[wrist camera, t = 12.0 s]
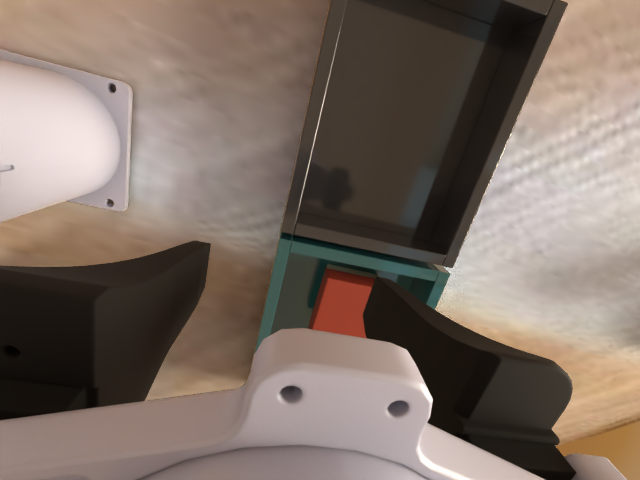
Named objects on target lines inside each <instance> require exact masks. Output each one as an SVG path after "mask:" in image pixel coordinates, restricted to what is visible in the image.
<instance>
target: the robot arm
mask: <svg viewBox="0 0 640 480" xmlns="http://www.w3.org/2000/svg"><path fill="white" fill-rule="evenodd" d="M112 84H114V85H115V86H116V92H114V93H113V92H112V91H111V88H110V87H111V85H112ZM132 98H133V92H132V88H131V87H130V85H129V84H128V83H126V82H123V81H119V80H115V79H112V78H108V77H104V76H100V75H96V74H93V73H89V72H85V71H81V70H77V69H74V68H70V67H66V66H62V65H58V64H55V63H51V62H47V61H43V60H40V59H36V58H32V57H28V56H24V55H21V54H17V53H13V52H9V51H5V50H2V49H0V222H3V221H7V220H10V219H13V218H16V217H19V216H22V215H25V214H28V213H31V212H34V211H37V210H40V209H43V208H46V207H49V206H52V205H55V204H58V203H61V202H64V201H68V202H73V203H78V204H83V205H87V206H92V207H97V208H102V209H107V210H112V211H117V212H122V211H124V210H126V209H127V208H128V203H129V177H130V151H131V124H132ZM109 199H110V200H112V201H113V203H114V205H111V204H110V203H109ZM210 245H211V244H210V243H205V242H200V241H191V242H188V243H185V244H182V245H179V246H176V247H173V248H170V249H167V250H164V251H161V252H157V253H154V254H151V255H147V256H144V257H140V258H135V259H131V260H125V261H120V262H114V263H106V264H97V265H88V266H74V267H18V266H0V480H627V479H626V478H625V477H624V476H623V475H622V474H621V473H620V472H619V471H618V470H617V469H616V468H615V466H614V465H613V464H612V463H611V462H610V461H609V460H608V459H607V458H606V457H601V456H593V455H584V454H577V453H576V454H569V455H567V456H565V457H564V456H563V455H562V454H561V453H560V451H559V450H558V449H557V448H556V446H555V445H558V444H559V442H560V441H559V438H558V437H557V436H556V434H555V433H554V432H553V431H552V430H551V429H552V427H553V426H554V424H555V423H556V421H557V420H558V418H559V417H560V416H561V414H562V413H563V411H564V410H565V408H566V407H567V405H568V403H569V401H570V399H571V395H572V389H573V388H572V381H571V379H570V377H569V376H568V374H567V373H566V372H565V371H564V370H563V369H562V368H561V367H560V366H558V365H557V364H556V363H555V362H554V361H552V360H549V359H546V358H543V357H540V356H537V355H533V354H530V353H527V352H524V351H521V350H518V349H515V348H512V347H509V346H507V345H504V344H501V343H499V342H496V341H494V340H491V339H489V338H487V337H484V336H482V335H480V334H478V333H476V332H473V331H471V330H469V329H467V328H465V327H463V326H461V325H459V324H458V323H456V322H454V321H452V320H450V319H449V318H447V317H445V316H444V315H442V314H440V313H439V312H437V311H436V310H434V309H433V308H431V307H430V306H428V305H427V304H425V303H424V302H422V301H421V300H419V299H418V298H417V297H415V296H414V295H413V294H411V293H410V292H408V291H407V290H406V289H404V288H403V287H401V286H400V285H398V284H397V283H395V282H394V281H392V280H390V279H386V278H381V277H375V280H374V283H373V286H372V289H371V292H370V295H369V298H368V301H367V303H366V306H365V309H364V312H363V322H364V329H365V334H366V338H361V337H355V336H349V335H343V334H337V333H331V332H325V331H319V330H313V329H307V328H294V329H281V330H279V331H277V332H276V333H274V334H272V335H270V336H268V337H266V338H265V339H263V341H262V342H261V344H260V346H259V347H258V349H257V351H256V352H255V354H254V357H253V362H252V366H251V371H250V375H249V377H248V380H247V382H246V383H245V384H244V385H243V386H242V387H240V388H237V389H230V390H222V391H215V392H207V393H200V394H193V395H185V396H178V397H170V398H163V399H155V400H148V401H145V399H146V397H147V395H148V392H149V390H150V388H151V386H152V384H153V382H154V379H155V377H156V375H157V373H158V371H159V369H160V367H161V365H162V363H163V361H164V359H165V356H166V355H167V353H168V351H169V349H170V348H171V346H172V344H173V343H174V341H175V340H176V338H177V336H178V335H179V333H180V332H181V330H182V328H183V327H184V325H185V324H186V322H187V321H188V319H189V317H190V316H191V314H192V312H193V311H194V309H195V308H196V306H197V304H198V302H199V299H200V297H201V295H202V292H203V290H204V288H205V282H206V275H207V267H208V260H209V253H210Z"/></svg>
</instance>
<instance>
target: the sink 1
mask: <svg viewBox="0 0 640 480" xmlns="http://www.w3.org/2000/svg"><path fill="white" fill-rule="evenodd" d="M281 226H282V223H281ZM327 264H331V265H335V266H340V267H345V268H349V269H354V270H358V271H363V272H368V273H372V274H377V275H378V276H379V277H381V278H386V279H390V280H392V281H394V282H395V283H397V284H398V285H400V286H401V287H403V288H404V289H406V290H407V291H408V292H410V293H411V294H413V295H414V296H415V297H417V298H418V299H419V300H421V301H422V302H424V303H425V304H427V305H428V306H430V307H431V308H433V309H434V310H435V308H436V306H437V303H438V301H439V299H440V296H441V294H442V292H443V289H444V287H445V285H446V283H447V280H448V278H449V276H450V273H449V272H448V271H447V270H446V269H445V268H444V267H443V266H442V265H436V264H431V263H426V262H422V261H417V260H412V259H407V258H403V257H398V256H393V255H388V254H384V253H379V252H374V251H370V250H365V249H360V248H355V247H351V246H346V245H341V244H336V243H332V242H327V241H322V240H317V239H313V238H308V237H303V236H298V235H294V233H293V234H289V233H284V232H281V228H280V233H279V237H278V242H277V247H276V251H275V256H274V261H273V265H272V270H271V274H270V279H269V284H268V288H267V293H266V298H265V302H264V307H263V312H262V316H261V321H260V325H259V330H258V335H257V339H256V344H255V349H254V353H253V357H254V354H255V352H256V351H257V349H258V347H259V346H260V344H261V342H262V341H263V339H265V338H266V337H268V336H270V335H272V334H274V333H276V332H277V331H279V330H281V329H294V328H307V329H309V326H308V325H309V322H310V319H311V315H312V312H313V309H314V306H315V302H316V299H317V296H318V292H319V289H320V286H321V282H322V279H323V276H324V272H325V269H326V267H327ZM252 362H253V358H252ZM251 366H252V363H251ZM250 371H251V367H250ZM249 375H250V372H249ZM248 377H249V376H248Z"/></svg>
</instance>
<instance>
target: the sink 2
mask: <svg viewBox="0 0 640 480" xmlns="http://www.w3.org/2000/svg"><path fill="white" fill-rule="evenodd" d="M567 5H568V3H566V2H564V1H561V0H330V1H329V6H328V10H327V15H326V20H325V24H324V29H323V33H322V38H321V43H320V47H319V52H318V57H317V61H316V66H315V71H314V75H313V80H312V84H311V89H310V94H309V98H308V103H307V108H306V112H305V117H304V122H303V126H302V131H301V135H300V140H299V145H298V149H297V154H296V159H295V163H294V168H293V173H292V177H291V182H290V186H289V191H288V196H287V200H286V205H285V210H284V214H283V220H282V226H281V232H284V233H289V234H293V233H294V235H298V236H303V237H308V238H313V239H317V240H322V241H327V242H332V243H336V244H341V245H346V246H351V247H355V248H360V249H365V250H370V251H374V252H379V253H384V254H388V255H393V256H398V257H403V258H407V259H412V260H417V261H422V262H426V263H431V264H436V265H442V266H445V267H450V268H453V266H454V264H455V262H456V259H457V257H458V255H459V252H460V250H461V248H462V245H463V243H464V241H465V239H466V236H467V234H468V232H469V229H470V227H471V225H472V223H473V220H474V218H475V216H476V213H477V211H478V209H479V206H480V204H481V202H482V200H483V197H484V195H485V193H486V190H487V188H488V186H489V184H490V181H491V179H492V177H493V174H494V172H495V170H496V167H497V165H498V163H499V161H500V158H501V156H502V154H503V151H504V149H505V147H506V145H507V142H508V140H509V138H510V135H511V133H512V131H513V129H514V126H515V124H516V122H517V119H518V117H519V115H520V112H521V110H522V108H523V106H524V103H525V101H526V99H527V96H528V94H529V92H530V90H531V87H532V85H533V83H534V80H535V78H536V76H537V73H538V71H539V69H540V67H541V64H542V62H543V60H544V57H545V55H546V53H547V51H548V48H549V46H550V44H551V41H552V39H553V37H554V34H555V32H556V30H557V28H558V25H559V23H560V21H561V18H562V16H563V14H564V12H565V9H566V7H567Z"/></svg>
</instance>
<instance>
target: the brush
mask: <svg viewBox="0 0 640 480" xmlns="http://www.w3.org/2000/svg"><path fill="white" fill-rule="evenodd" d="M375 277H379V276H378V275H377V274H372V273H368V272H363V271H358V270H354V269H349V268H345V267H340V266H335V265H331V264H327V267H326V269H325V272H324V276H323V279H322V282H321V286H320V289H319V292H318V296H317V299H316V302H315V306H314V309H313V312H312V315H311V319H310V322H309V325H308V326H309V329H313V330H319V331H325V332H331V333H337V334H343V335H349V336H355V337H361V338H366V334H365V329H364V322H363V312H364V309H365V306H366V303H367V301H368V298H369V295H370V292H371V289H372V286H373V283H374V280H375Z"/></svg>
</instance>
